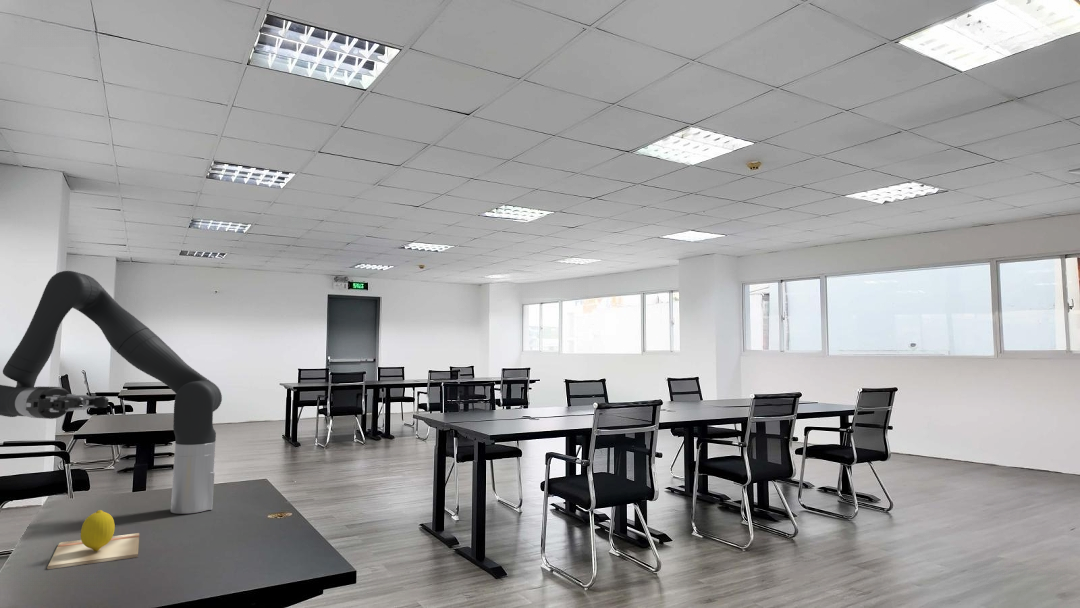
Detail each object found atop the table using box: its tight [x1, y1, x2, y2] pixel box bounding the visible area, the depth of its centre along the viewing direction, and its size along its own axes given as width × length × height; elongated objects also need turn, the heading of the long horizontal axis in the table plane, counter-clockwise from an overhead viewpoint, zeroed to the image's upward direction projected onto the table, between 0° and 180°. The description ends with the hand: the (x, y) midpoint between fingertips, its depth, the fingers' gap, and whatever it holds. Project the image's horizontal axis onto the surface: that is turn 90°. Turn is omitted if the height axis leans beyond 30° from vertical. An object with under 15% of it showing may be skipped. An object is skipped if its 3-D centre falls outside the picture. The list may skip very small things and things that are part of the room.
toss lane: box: [46, 532, 140, 570], centre depth 123 cm, size 14×18×1 cm
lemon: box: [80, 509, 116, 551], centre depth 122 cm, size 6×6×8 cm
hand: (87, 403), depth 139 cm, fingers open, 8 cm apart
